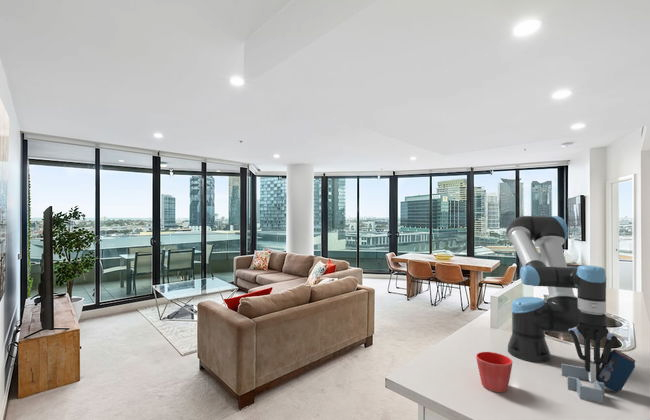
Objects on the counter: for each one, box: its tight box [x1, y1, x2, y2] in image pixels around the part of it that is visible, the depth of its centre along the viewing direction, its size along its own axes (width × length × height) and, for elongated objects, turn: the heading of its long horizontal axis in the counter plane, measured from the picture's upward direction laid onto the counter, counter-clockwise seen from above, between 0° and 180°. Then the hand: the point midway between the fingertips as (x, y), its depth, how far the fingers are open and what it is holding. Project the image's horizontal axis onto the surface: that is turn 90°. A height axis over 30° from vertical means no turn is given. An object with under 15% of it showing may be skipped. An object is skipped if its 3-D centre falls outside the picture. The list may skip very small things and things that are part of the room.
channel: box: [560, 363, 605, 404], centre depth 107 cm, size 10×16×4 cm, turn 152°
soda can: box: [596, 348, 636, 393], centre depth 106 cm, size 7×7×12 cm
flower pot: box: [475, 351, 513, 393], centre depth 109 cm, size 11×11×10 cm
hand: (592, 381), depth 108 cm, fingers closed
